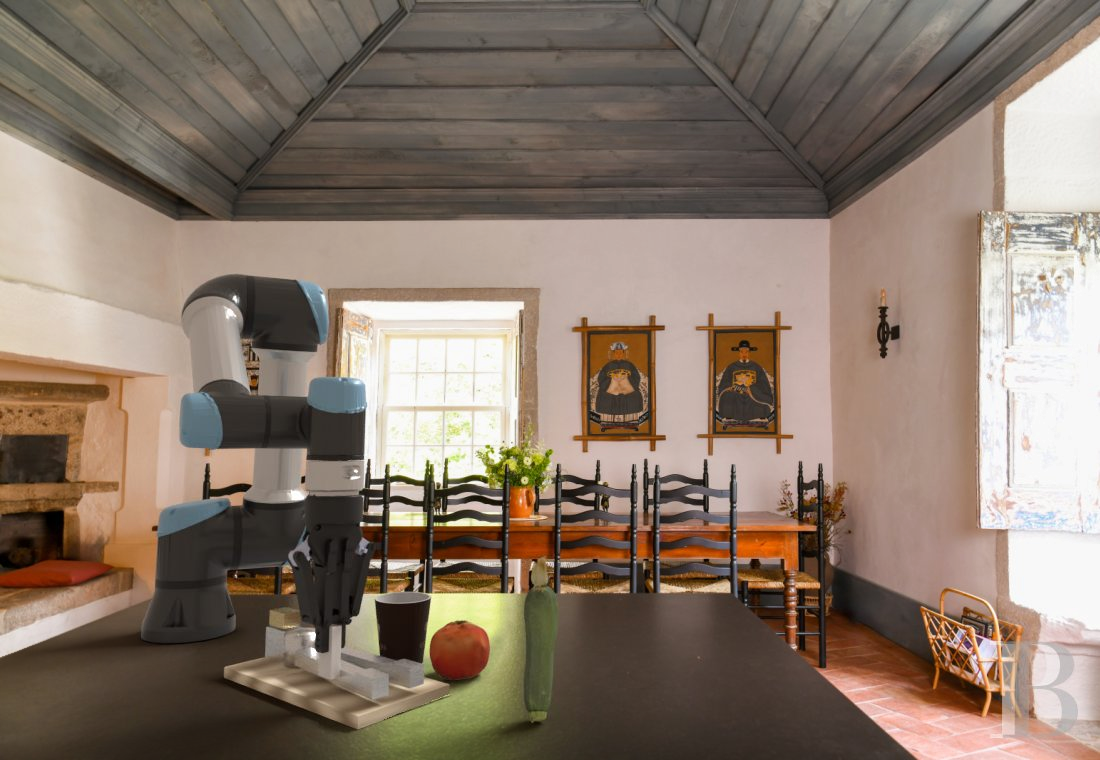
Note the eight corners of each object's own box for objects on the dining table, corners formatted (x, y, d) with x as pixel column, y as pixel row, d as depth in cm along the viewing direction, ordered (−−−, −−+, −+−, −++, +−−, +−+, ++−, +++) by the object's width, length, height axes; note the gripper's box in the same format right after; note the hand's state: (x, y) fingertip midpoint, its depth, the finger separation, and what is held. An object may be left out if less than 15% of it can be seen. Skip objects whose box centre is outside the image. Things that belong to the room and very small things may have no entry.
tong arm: (294, 665, 105) (295, 647, 105) (310, 661, 106) (310, 643, 106) (371, 699, 91) (372, 678, 91) (388, 695, 92) (388, 674, 93)
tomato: (440, 690, 102) (441, 631, 102) (419, 672, 110) (420, 617, 111) (502, 680, 106) (502, 623, 107) (477, 663, 114) (478, 610, 115)
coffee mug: (417, 674, 109) (419, 604, 110) (363, 670, 111) (365, 602, 111) (444, 652, 120) (445, 589, 121) (394, 649, 122) (396, 587, 123)
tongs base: (259, 658, 111) (260, 627, 112) (291, 650, 115) (291, 621, 116) (391, 702, 92) (392, 665, 93) (423, 691, 97) (424, 656, 97)
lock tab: (269, 624, 112) (269, 610, 112) (285, 621, 114) (286, 606, 115) (284, 628, 110) (284, 613, 110) (300, 625, 112) (301, 610, 112)
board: (223, 677, 107) (224, 666, 107) (314, 654, 119) (314, 645, 119) (357, 729, 88) (358, 716, 88) (449, 695, 99) (449, 684, 100)
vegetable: (522, 713, 93) (523, 552, 95) (556, 713, 93) (557, 552, 95) (524, 727, 89) (525, 557, 90) (560, 726, 89) (560, 557, 91)
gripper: (308, 496, 91) (301, 695, 89) (391, 492, 101) (387, 670, 99) (274, 494, 96) (267, 683, 93) (357, 490, 106) (352, 660, 104)
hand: (329, 676), depth 96 cm, fingers closed
